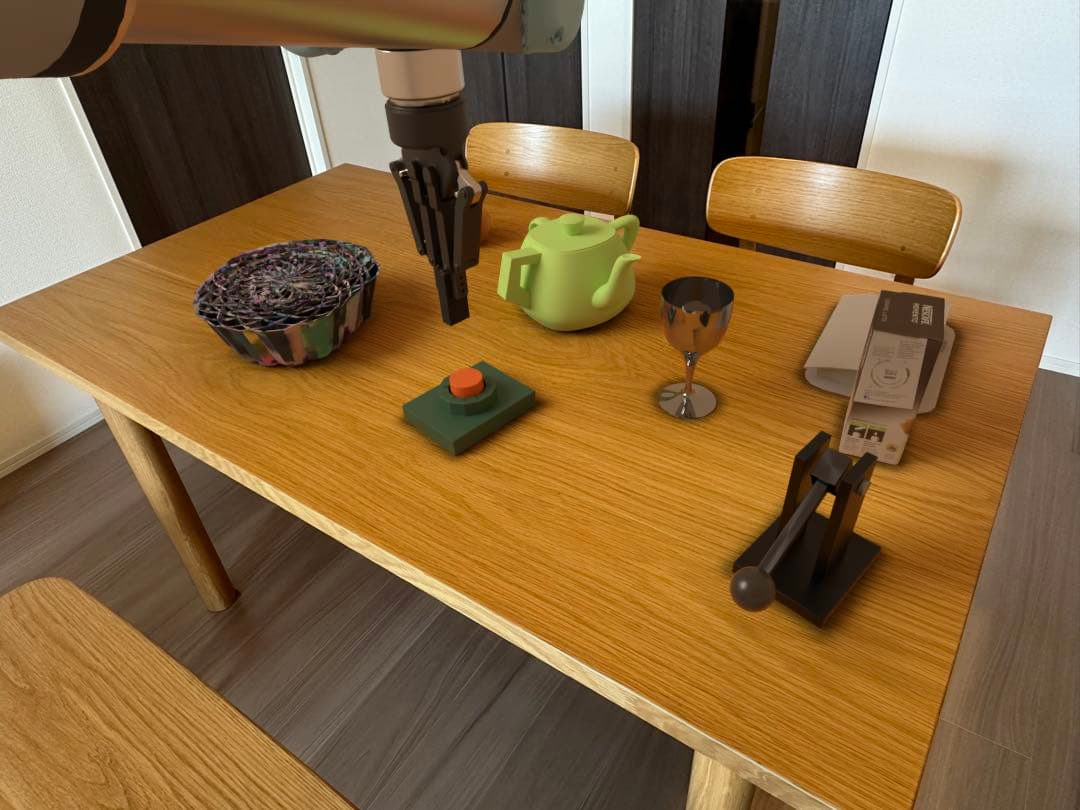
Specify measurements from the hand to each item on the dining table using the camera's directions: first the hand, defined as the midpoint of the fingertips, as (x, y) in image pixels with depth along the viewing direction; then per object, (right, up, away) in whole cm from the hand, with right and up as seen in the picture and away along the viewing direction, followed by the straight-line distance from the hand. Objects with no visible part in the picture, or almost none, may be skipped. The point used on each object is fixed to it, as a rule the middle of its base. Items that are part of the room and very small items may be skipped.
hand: (456, 319), depth 77 cm
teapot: (+15, +4, +27) cm, 31 cm away
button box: (+1, -10, +9) cm, 14 cm away
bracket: (+34, -25, -12) cm, 44 cm away
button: (+1, -8, +7) cm, 10 cm away
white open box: (+55, -3, +14) cm, 57 cm away
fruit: (-4, +20, +49) cm, 53 cm away
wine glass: (+28, -9, +9) cm, 30 cm away
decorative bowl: (-26, +2, +27) cm, 38 cm away
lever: (+31, -21, -19) cm, 42 cm away
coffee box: (+47, -13, +2) cm, 49 cm away
